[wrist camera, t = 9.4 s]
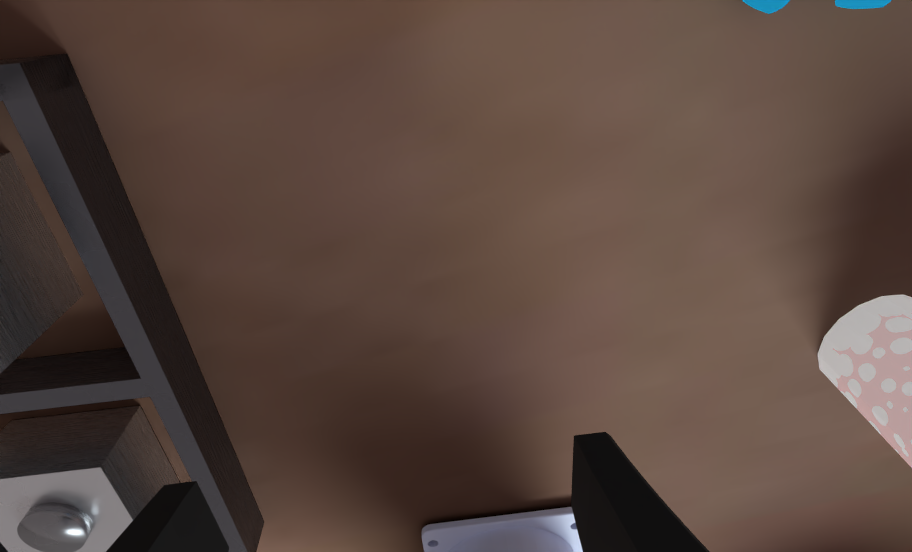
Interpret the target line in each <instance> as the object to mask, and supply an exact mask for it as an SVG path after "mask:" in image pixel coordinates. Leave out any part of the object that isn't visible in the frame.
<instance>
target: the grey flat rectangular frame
mask: <svg viewBox="0 0 912 552" xmlns="http://www.w3.org/2000/svg"><path fill="white" fill-rule="evenodd" d="M0 101H3V102H4V104H5V106H6V108H7V110H8V112H9V114H10V116H11V118H12V120H13V122H14V124H15V126H16V128H17V130H18V132H19V134H20V136H21V138H22V140H23V142H24V144H25V146H26V148H27V150H28V152H29V154H30V156H31V158H32V160H33V162H34V164H35V166H36V168H37V170H38V172H39V174H40V176H41V178H42V180H43V182H44V184H45V186H46V188H47V190H48V192H49V194H50V197H51V199H52V201H53V203H54V205H55V207H56V209H57V211H58V213H59V215H60V217H61V219H62V221H63V223H64V225H65V227H66V229H67V231H68V233H69V235H70V237H71V239H72V241H73V243H74V245H75V247H76V249H77V251H78V253H79V255H80V257H81V259H82V261H83V263H84V265H85V267H86V269H87V271H88V273H89V275H90V277H91V279H92V281H93V283H94V285H95V287H96V289H97V291H98V293H99V295H100V297H101V299H102V301H103V303H104V305H105V307H106V309H107V311H108V313H109V315H110V317H111V319H112V321H113V323H114V325H115V327H116V329H117V331H118V333H119V335H120V337H121V339H122V341H123V343H124V345H125V347H124V348H115V349H106V350H98V351H89V352H80V353H71V354H62V355H53V356H45V357H36V358H27V359H18V360H14V361H13V362H12V363H11V364H10V365H9V366H8V367H7V368H6V369H5V370H4V371H2V372H1V373H0V414H4V413H13V412H22V411H30V410H39V409H48V408H56V407H65V406H74V405H82V404H91V403H99V402H108V401H117V400H125V399H134V398H143V397H151V399H152V401H153V403H154V405H155V407H156V409H157V411H158V413H159V415H160V417H161V419H162V421H163V423H164V425H165V427H166V429H167V431H168V433H169V435H170V437H171V440H172V442H173V444H174V446H175V448H176V450H177V452H178V454H179V456H180V458H181V460H182V462H183V464H184V466H185V468H186V470H187V472H188V474H189V476H190V478H191V480H192V482H193V481H197V483H198V485H199V487H200V489H201V491H202V493H203V495H204V497H205V499H206V501H207V503H208V505H209V507H210V509H211V511H212V513H213V515H214V517H215V519H216V521H217V523H218V525H219V528H220V530H221V532H222V534H223V536H224V538H225V540H226V542H227V544H228V546H229V552H256V550H257V547H258V543H259V539H260V536H261V532H262V528H263V525H264V521H263V518H262V516H261V514H260V511H259V509H258V506H257V504H256V502H255V499H254V497H253V495H252V492H251V490H250V487H249V485H248V483H247V480H246V478H245V476H244V473H243V471H242V468H241V466H240V464H239V461H238V459H237V457H236V454H235V452H234V449H233V447H232V445H231V442H230V440H229V438H228V435H227V433H226V430H225V428H224V426H223V423H222V421H221V419H220V416H219V414H218V411H217V409H216V407H215V404H214V402H213V399H212V397H211V395H210V392H209V390H208V388H207V385H206V383H205V380H204V378H203V376H202V373H201V371H200V369H199V366H198V364H197V361H196V359H195V357H194V354H193V352H192V350H191V347H190V345H189V342H188V340H187V338H186V335H185V333H184V331H183V328H182V326H181V323H180V321H179V319H178V316H177V314H176V312H175V309H174V307H173V304H172V302H171V300H170V297H169V295H168V293H167V290H166V288H165V285H164V283H163V281H162V278H161V276H160V273H159V271H158V269H157V266H156V264H155V262H154V259H153V257H152V254H151V252H150V250H149V247H148V245H147V243H146V240H145V238H144V235H143V233H142V231H141V228H140V226H139V224H138V221H137V219H136V216H135V214H134V212H133V209H132V207H131V205H130V202H129V200H128V197H127V195H126V193H125V190H124V188H123V186H122V183H121V181H120V178H119V176H118V174H117V171H116V169H115V167H114V164H113V162H112V159H111V157H110V155H109V152H108V150H107V147H106V145H105V143H104V140H103V138H102V136H101V133H100V131H99V128H98V126H97V124H96V121H95V119H94V117H93V114H92V112H91V109H90V107H89V105H88V102H87V100H86V98H85V95H84V93H83V90H82V88H81V86H80V83H79V81H78V79H77V76H76V74H75V71H74V69H73V67H72V64H71V62H70V60H69V57H68V55H67V54H58V55H48V56H38V57H27V58H17V59H7V60H0ZM0 552H8V551H7V550H6V548H5V547H4V546H3V545H2V544H1V543H0Z"/></svg>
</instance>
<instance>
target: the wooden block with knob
mask: <svg viewBox="0 0 912 552" xmlns="http://www.w3.org/2000/svg"><path fill="white" fill-rule="evenodd" d="M176 483H180V482H179V480H178V478H177V476H176V474H175V472H174V470H173V469H172V467H171V465H170V463H169V461H168V459H167V457H166V455H165V453H164V451H163V449H162V447H161V445H160V443H159V441H158V439H157V438H156V436H155V434H154V432H153V430H152V428H151V426H150V424H149V422H148V420H147V418H146V416H145V414H144V412H143V410H142V409H141V407H140V406H133V407H125V408H116V409H107V410H99V411H90V412H81V413H73V414H64V415H56V416H47V417H38V418H30V419H21V420H13V421H10V422H9V423H8V424H7V426H6V427H5V428H4V429H3V430H2V431H1V432H0V543H1V544H2V545H3V546H4V547H5V548H6V550H7V551H8V552H106V551H107V550H108V549H109V547H110V546H111V545H112V544H113V543H114V542H115V540H116V539H117V538H118V537H119V536H120V535H121V534H122V532H123V531H124V530H125V529H126V528H127V527H128V526H129V524H130V523H131V522H132V521H133V520H134V519H135V517H136V516H137V515H138V514H139V513H140V512H141V511H142V509H143V508H144V507H145V506H146V505H147V504H148V503H149V501H150V500H151V499H152V498H153V497H154V496H155V495H156V494H157V492H158V491H159V490H160V489H161V488H162V487H163V486H164V485H168V484H176Z"/></svg>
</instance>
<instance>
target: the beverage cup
mask: <svg viewBox="0 0 912 552" xmlns="http://www.w3.org/2000/svg"><path fill="white" fill-rule="evenodd" d="M818 361H819V369H820V370H821V371H822V372H823V373H824V374H825V375H826V376H827V377H828V378H829V380H830V381H831V382H832V383H833V384H834V385H835V386H836V387H837V388H838V389H839V390H840V391H841V392H842V393H843V395H844V396H845V397H846V398H847V399H848V400H849V401H850V402H851V403H852V404H853V405H854V406H855V407H856V408H857V410H858V411H859V412H860V413H861V414H862V415H863V416H864V417H865V418H866V419H867V420H868V421H869V422H870V423H871V425H872V426H873V427H874V428H875V429H876V430H877V431H878V432H879V433H880V434H881V435H882V436H883V437H884V438H885V440H886V441H887V442H888V443H889V444H890V445H891V446H892V447H893V448H894V449H895V450H896V451H897V452H898V454H899V455H900V456H901V457H902V458H903V459H904V460H905V461H906V462H907V463H908V464H909V465H910V466H911V467H912V297H909V296H906V295H903V294H902V295H890V296H881V297H878V298H876V299H873V300H871V301H868V302H865V303H863V304H860V305H858V306H857V307H855V308H854V309H853V310H851V311H850V312H848V313H847V314H845V315H844V316H843V317H841V318H840V319H838V321H837V322H836V323H835V324H834V325H833V327H832V328H831V329H830V330H829V331H828V333H827V334H826V335H825V336H824V338H823V341H822V344H821V346H820V349H819V352H818Z"/></svg>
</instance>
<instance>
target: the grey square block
mask: <svg viewBox="0 0 912 552" xmlns="http://www.w3.org/2000/svg"><path fill="white" fill-rule="evenodd" d="M83 295H84V294H83V292H82V290H81V288H80V287H79V285H78V283H77V281H76V279H75V277H74V275H73V273H72V271H71V269H70V267H69V265H68V263H67V261H66V259H65V257H64V255H63V253H62V251H61V249H60V247H59V245H58V244H57V242H56V240H55V238H54V236H53V234H52V232H51V230H50V228H49V226H48V224H47V222H46V220H45V218H44V216H43V214H42V212H41V210H40V208H39V206H38V204H37V202H36V201H35V199H34V197H33V195H32V193H31V191H30V189H29V187H28V185H27V183H26V181H25V179H24V177H23V175H22V173H21V171H20V169H19V167H18V165H17V163H16V161H15V159H14V158H13V156H12V154H11V152H9V153H0V373H1V372H2V371H4V370H5V369H6V368H7V367H8V366H9V365H10V364H11V363H12V362H13V361H14V360H15V359H16V358H17V357H18V356H19V355H20V354H21V353H23V352H24V351H25V350H26V349H27V348H28V347H29V346H30V345H31V344H32V343H33V342H34V341H35V340H36V339H37V338H38V337H39V336H40V335H42V334H43V333H44V332H45V331H46V330H47V329H48V328H49V327H50V326H51V325H52V324H53V323H54V322H55V321H56V320H57V319H58V318H60V317H61V316H62V315H63V314H64V313H65V312H66V311H67V310H68V309H69V308H70V307H71V306H72V305H73V304H74V303H75V302H76V301H77V300H79V299H80V298H81V297H82V296H83Z"/></svg>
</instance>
